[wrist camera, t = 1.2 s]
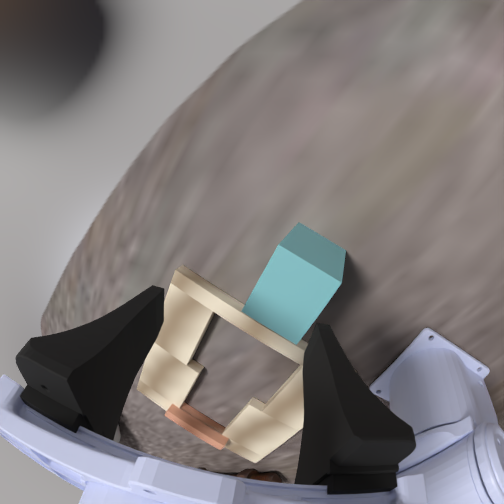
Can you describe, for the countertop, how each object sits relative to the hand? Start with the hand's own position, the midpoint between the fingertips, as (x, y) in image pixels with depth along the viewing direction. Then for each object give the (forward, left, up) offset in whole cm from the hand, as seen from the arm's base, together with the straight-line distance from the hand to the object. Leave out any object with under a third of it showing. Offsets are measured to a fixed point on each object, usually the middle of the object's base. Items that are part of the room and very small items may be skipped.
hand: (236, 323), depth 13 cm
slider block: (-2, 0, -10) cm, 10 cm away
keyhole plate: (-2, +16, -10) cm, 19 cm away
